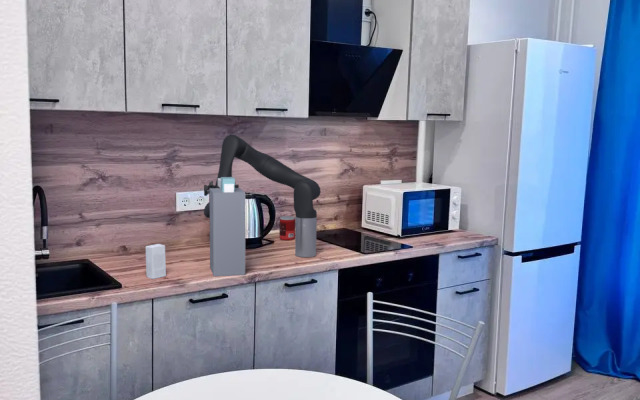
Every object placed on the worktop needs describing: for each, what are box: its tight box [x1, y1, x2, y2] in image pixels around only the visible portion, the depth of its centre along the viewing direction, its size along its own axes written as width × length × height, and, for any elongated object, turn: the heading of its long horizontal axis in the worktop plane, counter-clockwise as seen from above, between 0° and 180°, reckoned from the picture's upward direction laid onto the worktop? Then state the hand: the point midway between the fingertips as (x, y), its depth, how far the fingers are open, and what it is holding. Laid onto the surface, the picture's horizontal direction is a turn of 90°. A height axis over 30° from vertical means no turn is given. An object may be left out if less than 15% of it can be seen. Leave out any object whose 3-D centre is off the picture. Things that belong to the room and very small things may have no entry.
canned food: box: [278, 215, 296, 242], centre depth 299 cm, size 8×8×11 cm
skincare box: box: [145, 243, 167, 280], centre depth 225 cm, size 6×4×12 cm
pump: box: [218, 176, 236, 192], centre depth 236 cm, size 22×5×5 cm, turn 16°
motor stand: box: [209, 187, 246, 277], centre depth 234 cm, size 14×12×32 cm
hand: (222, 183), depth 244 cm, fingers open, 8 cm apart
